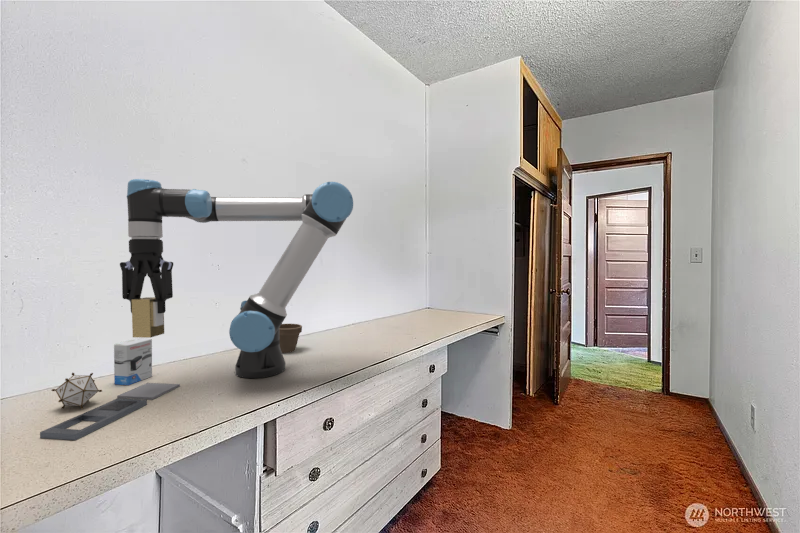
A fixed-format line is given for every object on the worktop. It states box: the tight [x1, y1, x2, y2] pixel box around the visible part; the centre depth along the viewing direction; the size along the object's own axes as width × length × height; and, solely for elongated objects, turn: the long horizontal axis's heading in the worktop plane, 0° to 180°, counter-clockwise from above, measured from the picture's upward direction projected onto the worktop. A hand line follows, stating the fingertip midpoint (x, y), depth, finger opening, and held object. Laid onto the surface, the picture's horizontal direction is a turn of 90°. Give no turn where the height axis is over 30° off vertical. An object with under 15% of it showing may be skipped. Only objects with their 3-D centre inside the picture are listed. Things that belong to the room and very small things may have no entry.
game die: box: [51, 372, 103, 410], centre depth 90 cm, size 9×8×10 cm
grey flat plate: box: [39, 397, 148, 441], centre depth 83 cm, size 8×18×1 cm, turn 174°
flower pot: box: [279, 323, 303, 354], centre depth 143 cm, size 12×11×10 cm
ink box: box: [113, 337, 153, 386], centre depth 109 cm, size 8×5×12 cm, turn 168°
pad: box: [116, 382, 181, 401], centre depth 100 cm, size 10×10×1 cm
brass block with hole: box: [131, 296, 165, 339], centre depth 99 cm, size 5×5×10 cm
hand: (148, 325), depth 99 cm, fingers closed on brass block with hole, 5 cm apart
